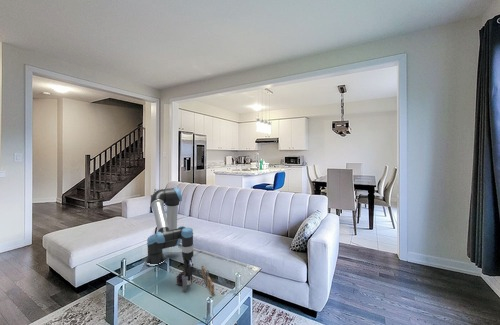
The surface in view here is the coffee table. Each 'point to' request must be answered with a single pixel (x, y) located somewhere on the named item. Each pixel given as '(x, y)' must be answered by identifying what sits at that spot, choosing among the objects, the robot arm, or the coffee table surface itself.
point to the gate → (204, 273)
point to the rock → (179, 278)
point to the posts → (184, 281)
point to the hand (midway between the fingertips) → (188, 284)
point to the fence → (210, 285)
